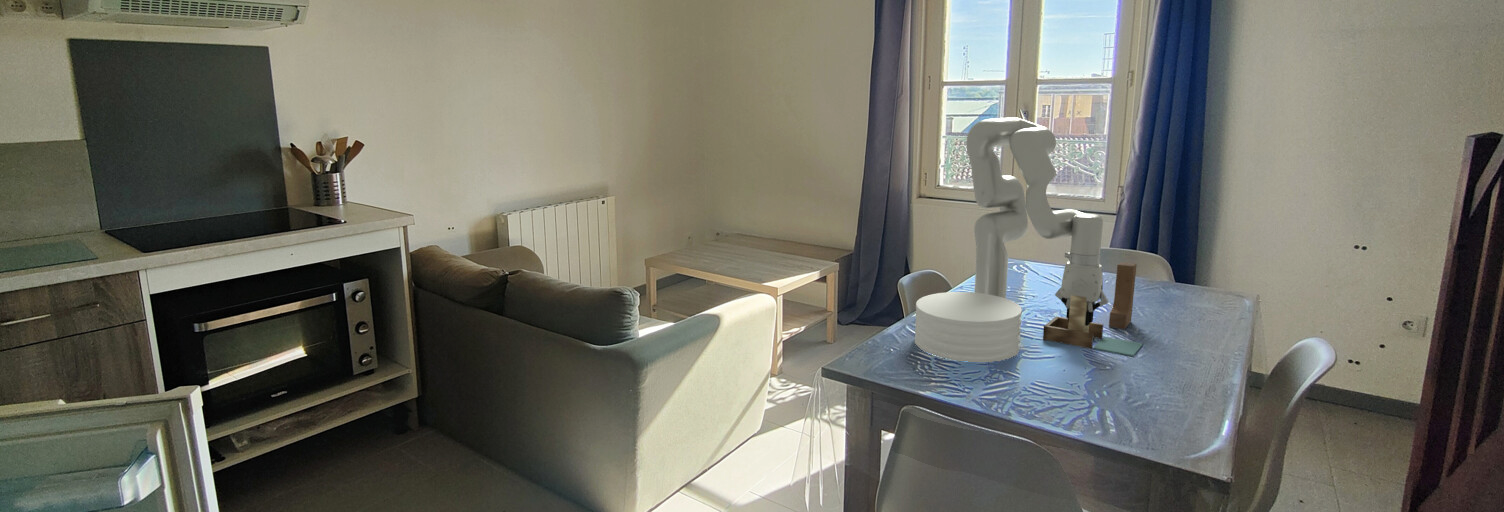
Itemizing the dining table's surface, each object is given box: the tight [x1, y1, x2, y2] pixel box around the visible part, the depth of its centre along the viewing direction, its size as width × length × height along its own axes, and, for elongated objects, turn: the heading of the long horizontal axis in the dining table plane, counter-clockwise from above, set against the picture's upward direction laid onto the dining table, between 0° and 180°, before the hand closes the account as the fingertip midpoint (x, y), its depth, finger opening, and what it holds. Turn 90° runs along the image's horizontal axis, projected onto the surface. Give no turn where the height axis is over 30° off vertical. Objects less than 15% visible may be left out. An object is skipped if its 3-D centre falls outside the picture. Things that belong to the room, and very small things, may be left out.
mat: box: [1092, 336, 1144, 357], centre depth 212 cm, size 10×11×1 cm
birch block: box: [1068, 295, 1089, 333], centre depth 217 cm, size 4×6×12 cm, turn 142°
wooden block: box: [1108, 261, 1138, 330], centre depth 229 cm, size 9×4×18 cm, turn 144°
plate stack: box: [914, 291, 1023, 363], centre depth 215 cm, size 28×28×12 cm
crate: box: [1042, 315, 1104, 350], centre depth 219 cm, size 13×11×4 cm
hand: (1079, 322), depth 218 cm, fingers closed on birch block, 4 cm apart
